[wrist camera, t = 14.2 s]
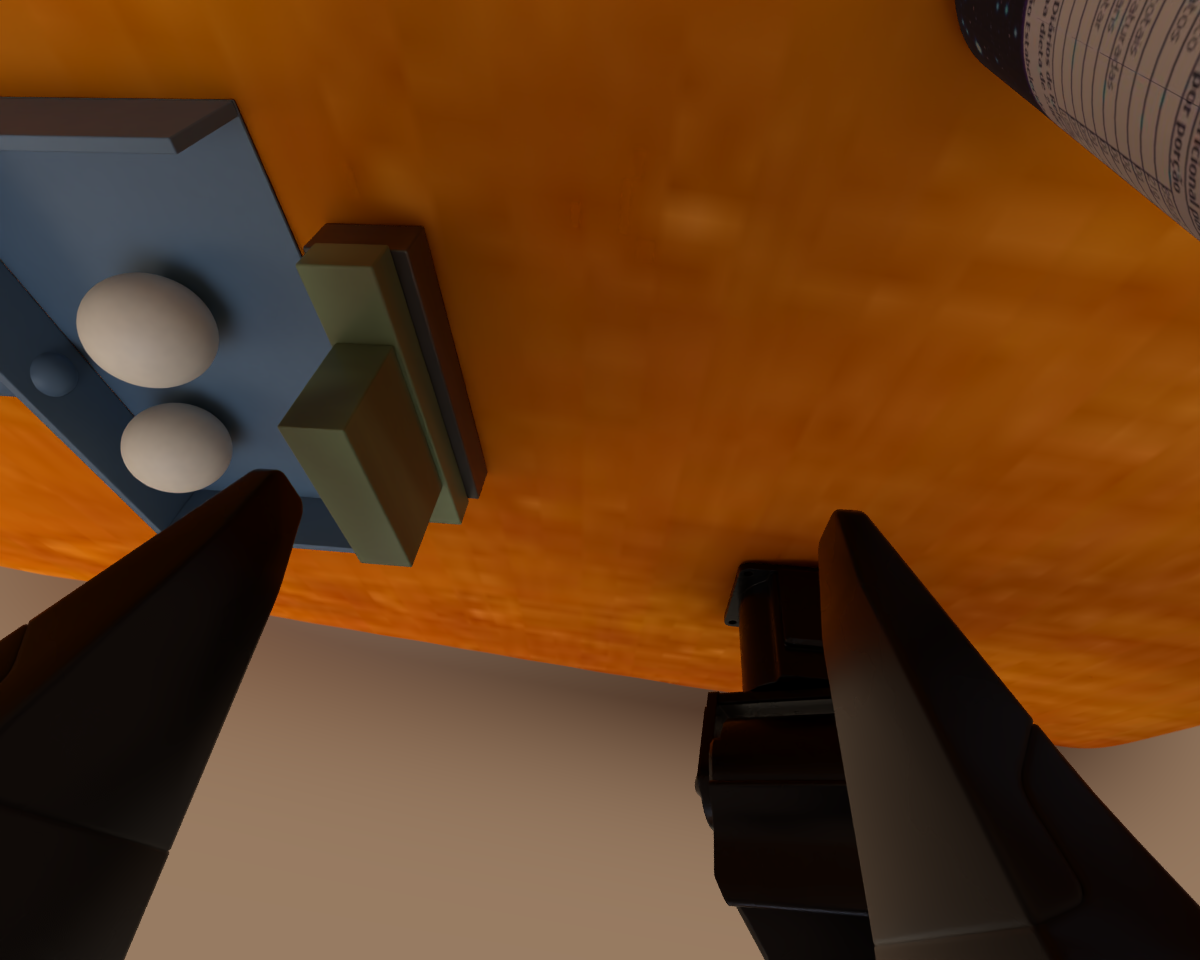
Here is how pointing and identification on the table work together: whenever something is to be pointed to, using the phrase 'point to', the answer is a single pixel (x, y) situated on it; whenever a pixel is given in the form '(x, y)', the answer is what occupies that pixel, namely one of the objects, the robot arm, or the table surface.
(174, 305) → the crumb
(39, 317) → the dustpan
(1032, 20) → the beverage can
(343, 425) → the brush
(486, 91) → the table surface
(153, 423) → the crumb
